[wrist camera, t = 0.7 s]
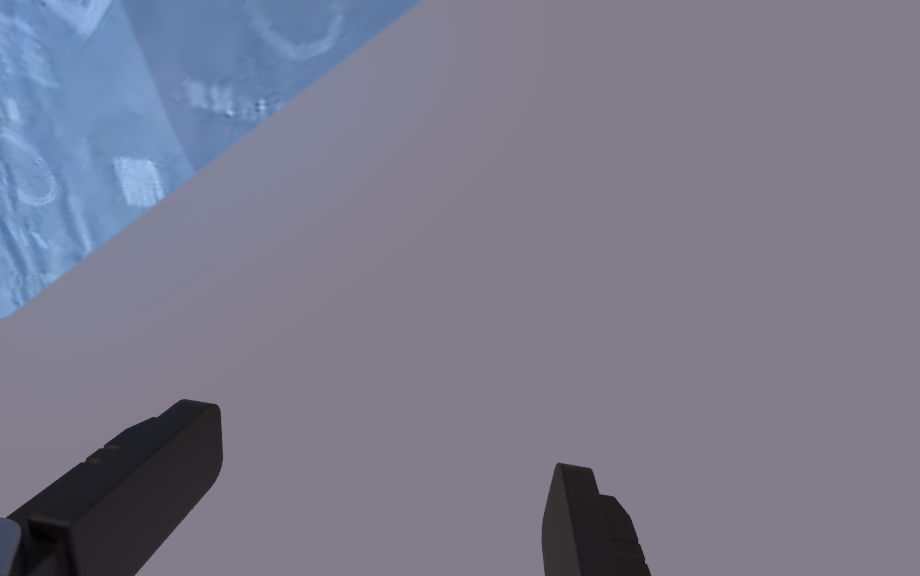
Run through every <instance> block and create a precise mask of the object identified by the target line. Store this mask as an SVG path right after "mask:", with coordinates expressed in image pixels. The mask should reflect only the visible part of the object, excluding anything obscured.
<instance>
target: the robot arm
mask: <svg viewBox="0 0 920 576" xmlns="http://www.w3.org/2000/svg"><path fill="white" fill-rule="evenodd" d="M222 461H223V450H222V430H221V412H220V408H219V406H218V405H216V404H211V403H206V402H200V401H193V400H187V399H183V400H180V401H178V402H177V403H175V404H174V405H173V406H171V407H170V408H169V409H168V410H166V411H165V412H164V413H162V414H161V415H160V416H158V417H157V418H156V417H152V418H150V419H148V420H145V421H143V422H141V423H139V424H137V425H134V426H132V427H130V428H127V429H126V430H124V431H123V432H122V433H120V434H119V435H118V436H116V437H115V438H113V439H112V440H111V441H109V442H108V443H107V444H105V445H104V448H103V449H101V448H100V449H98V450H97V451H96V452H94V453H93V454H92V455H90V456H89V457H88V458H86V461H85V462H84V463H83V462H81V463H80V464H78V465H77V466H76V467H74V468H73V469H71V470H70V471H69V472H67V473H66V474H65V475H63V476H62V477H60V478H59V479H58V480H56V481H55V482H54V483H52V484H51V485H50V486H48V487H47V488H46V489H44V490H43V491H41V492H40V493H39V494H37V495H36V496H35V497H33V498H32V499H31V500H29V501H28V502H27V503H25V504H24V505H22V506H21V507H20V508H18V509H17V510H16V511H14V512H13V513H12V514H10V515H9V516H7V517H6V518H0V576H135V574H136V573H137V572H138V571H139V570H140V569H141V568H142V566H143V565H144V564H145V563H146V562H147V561H148V559H149V558H150V557H151V556H152V555H153V554H154V552H155V551H156V550H157V549H158V548H159V547H160V546H161V544H162V543H163V542H164V541H165V540H166V539H167V537H168V536H169V535H170V534H171V533H172V532H173V531H174V529H175V528H176V527H177V526H178V525H179V524H180V523H181V521H182V520H183V519H184V518H185V517H186V516H187V514H188V513H189V512H190V511H191V510H192V509H193V507H194V506H195V505H196V504H197V503H198V502H199V501H200V499H201V498H202V497H203V496H204V495H205V494H206V493H207V491H208V490H209V489H210V488H211V487H212V485H213V484H214V483H215V481H216V479H217V477H218V475H219V472H220V470H221V466H222ZM542 551H543V561H544V571H545V576H651V574H650V571H649V568H648V566H647V564H645V557H644V554H643V552H642V549H641V546H640V544H638V537H637V535H636V532H635V529H634V526H633V523H632V520H631V518H630V516H629V515H628V514H627V513H626V511H625V510H624V509H623V507H622V506H621V505H620V504H619V502H618V501H617V500H616V498H615V497H613V496H607V495H601V494H599V491H598V488H597V484H596V481H595V477H594V474H593V471H592V469H591V468H587V467H580V466H575V465H569V464H563V463H557V465H556V467H555V470H554V474H553V478H552V482H551V486H550V490H549V495H548V499H547V503H546V507H545V512H544V517H543V523H542Z"/></svg>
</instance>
